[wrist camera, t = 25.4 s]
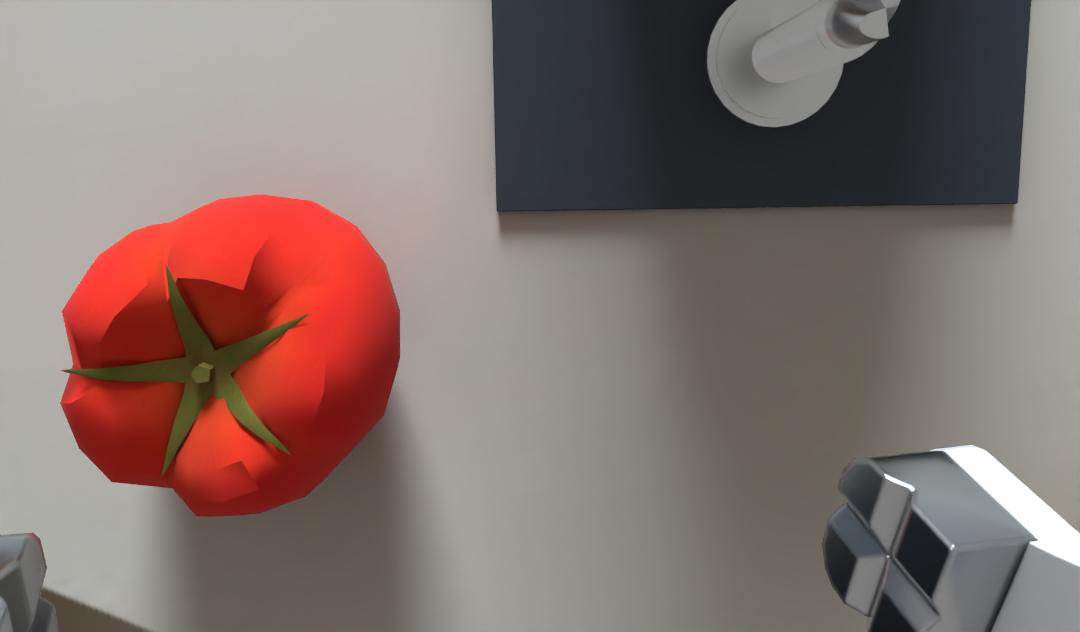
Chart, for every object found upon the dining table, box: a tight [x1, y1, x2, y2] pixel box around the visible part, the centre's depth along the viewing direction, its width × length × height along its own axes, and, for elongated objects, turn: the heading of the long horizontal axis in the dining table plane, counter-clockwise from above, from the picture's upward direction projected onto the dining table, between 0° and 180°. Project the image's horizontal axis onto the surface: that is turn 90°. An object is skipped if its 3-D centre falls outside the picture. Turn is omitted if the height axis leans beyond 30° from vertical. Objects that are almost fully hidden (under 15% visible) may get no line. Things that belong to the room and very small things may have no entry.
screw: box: [706, 0, 900, 127], centre depth 29 cm, size 13×5×5 cm
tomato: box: [61, 195, 400, 517], centre depth 33 cm, size 11×12×9 cm
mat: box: [492, 0, 1031, 211], centre depth 35 cm, size 20×11×1 cm, turn 91°
